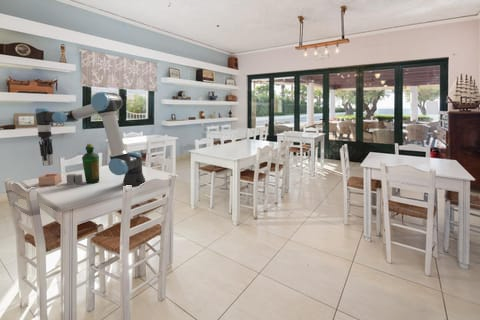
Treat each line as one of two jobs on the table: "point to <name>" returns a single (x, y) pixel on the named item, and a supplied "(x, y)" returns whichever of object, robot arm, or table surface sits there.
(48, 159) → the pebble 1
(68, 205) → the table surface
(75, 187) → the table surface
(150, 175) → the table surface
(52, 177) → the terracotta bin
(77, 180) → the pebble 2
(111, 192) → the table surface
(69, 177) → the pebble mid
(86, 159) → the bottle
